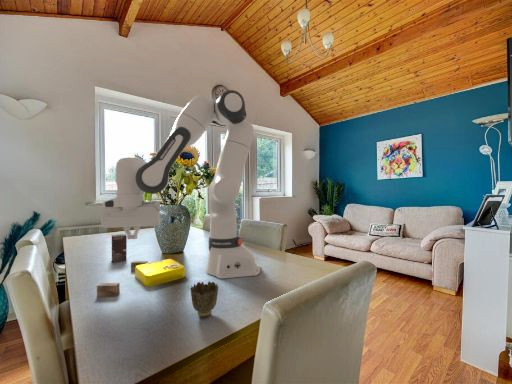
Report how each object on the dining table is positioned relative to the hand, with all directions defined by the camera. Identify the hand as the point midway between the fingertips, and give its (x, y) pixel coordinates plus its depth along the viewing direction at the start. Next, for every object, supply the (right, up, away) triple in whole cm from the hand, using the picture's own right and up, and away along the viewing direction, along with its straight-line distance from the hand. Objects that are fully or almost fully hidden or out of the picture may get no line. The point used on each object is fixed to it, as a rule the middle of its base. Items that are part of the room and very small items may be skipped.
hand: (132, 238), depth 90 cm
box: (-19, -15, +24) cm, 34 cm away
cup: (+32, -17, -23) cm, 43 cm away
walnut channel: (-2, -16, 0) cm, 16 cm away
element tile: (+8, -16, +5) cm, 19 cm away
